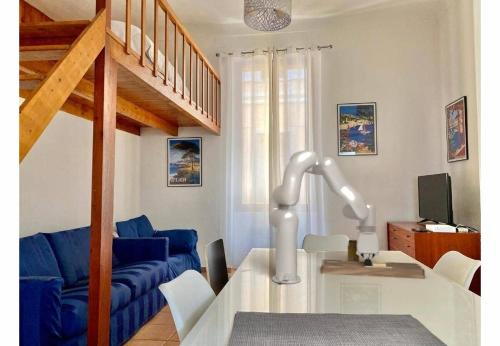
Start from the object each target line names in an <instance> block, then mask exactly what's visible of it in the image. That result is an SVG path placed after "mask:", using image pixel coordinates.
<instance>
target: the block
mask: <svg viewBox="0 0 500 346" xmlns="http://www.w3.org/2000/svg"><path fill="white" fill-rule="evenodd" d="M384 262H385V261H374V262H371V266H379V267H386V264H385V263H384Z"/></svg>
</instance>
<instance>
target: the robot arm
mask: <svg viewBox="0 0 500 346" xmlns="http://www.w3.org/2000/svg"><path fill="white" fill-rule="evenodd" d="M305 173H307V174H311V175H315V176H322V177H323V179H324V181H325V182H326V185H328V187H329V190H330V191H331V192H332V193H333V194H335V196H338V197H340V198H341V199H342V200H344V201H345V203H347V204H345V205H343V207H342V210H341V214H342V215H343V216H344V218H347V219H349V220H355V221H359V225H358V226H356V230H358V232H357V234H356V235H357V236H356V240H357V252H356V254H357V255H359V257H360V256H361V257H362V258H363V261H364V265H365V266H371V261H372V260H373V259H374V257H377V256H380V239H379V235H378V232H376V231H377V230H376V227H377V226H376V223H377V221H376V206H375V204H373V203H366V201H365V199H364V197H363V196H362V194H361V193H360V192H359V191H358V190H357V189H355V188H354V186H352V185H351V184H350V183H349V182H348V180H347V179H346V177H345V175H344V174H343V172H342V170H341V169H340V167H339V165H338V164H337V162H336V160H335V159H334V158H333V157H330V156H323V157H318V155H317V153H316V151H314V150H312V149H311V150H310V149H305V150H300V151H296V152H294V153H292V154H291V156H290V158H289V162H288V164H286V167H285V169H284V172H283V178H282V180H281V181H282V182H281V185H278V186H276V187H275V188H274V189H273V190H272V194H271V198H270V203H269V204H270V206H269V210H268V222H269V223H270V225H271V226H272V227H273V228H274V229H277V230H276V234H275V274H274V275H272V281H273V282H275V283H278V284H288V285H289V284H290V285H291V284H297V283H300V282H301V281H302V280H301V279H302V278H301V277H300V276H299V275H298V231H299V226H300V225H299V222H300V221H299V216H298V214H297V213H296V211H293V210H292V209H290V207H294V206H296V205H297V204H298V203H299V202H300V201H299V200H300V195H301V187H302V182H303V177H304V174H305ZM367 254H368V257H367Z"/></svg>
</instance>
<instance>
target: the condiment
mask: <svg viewBox="0 0 500 346" xmlns="http://www.w3.org/2000/svg"><path fill="white" fill-rule="evenodd" d="M347 242H348V245H347V261H359V262H360V255H357V254H356V252H357V239H349V240H348V241H347Z"/></svg>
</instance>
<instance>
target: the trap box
mask: <svg viewBox="0 0 500 346" xmlns="http://www.w3.org/2000/svg"><path fill="white" fill-rule="evenodd" d="M371 262H375V261H373V260H371ZM383 262H384V263H385V264H386V267H379V266H365V265H364V260H363V261H360V260H359V261H348V260H343V259H322V260H321V274H325V275H326V274H327V275H346V276H347V275H348V276H363V275H368V277H382V276H384V277H385V278H405V279H406V278H407V279H424V280H425V279H426V278H425V277H426V272H425V271H426V270H425V269H424V268H423V266H421V265H420V264H419V263H416V262H398V261H397V262H395V261H394V262H393V261H383Z"/></svg>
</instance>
